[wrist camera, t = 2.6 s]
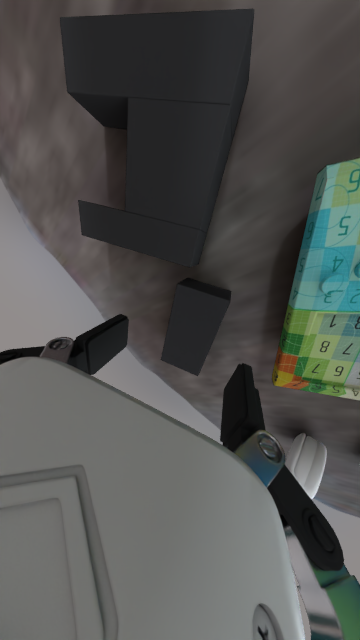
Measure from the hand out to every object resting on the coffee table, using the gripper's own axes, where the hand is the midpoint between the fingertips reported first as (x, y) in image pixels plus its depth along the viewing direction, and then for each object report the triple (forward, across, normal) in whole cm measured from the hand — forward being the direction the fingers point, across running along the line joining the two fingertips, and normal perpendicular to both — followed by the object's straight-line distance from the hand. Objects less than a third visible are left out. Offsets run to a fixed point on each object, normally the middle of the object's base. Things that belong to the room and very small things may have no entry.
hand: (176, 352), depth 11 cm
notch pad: (+10, +9, -12) cm, 19 cm away
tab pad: (+11, 0, +2) cm, 11 cm away
